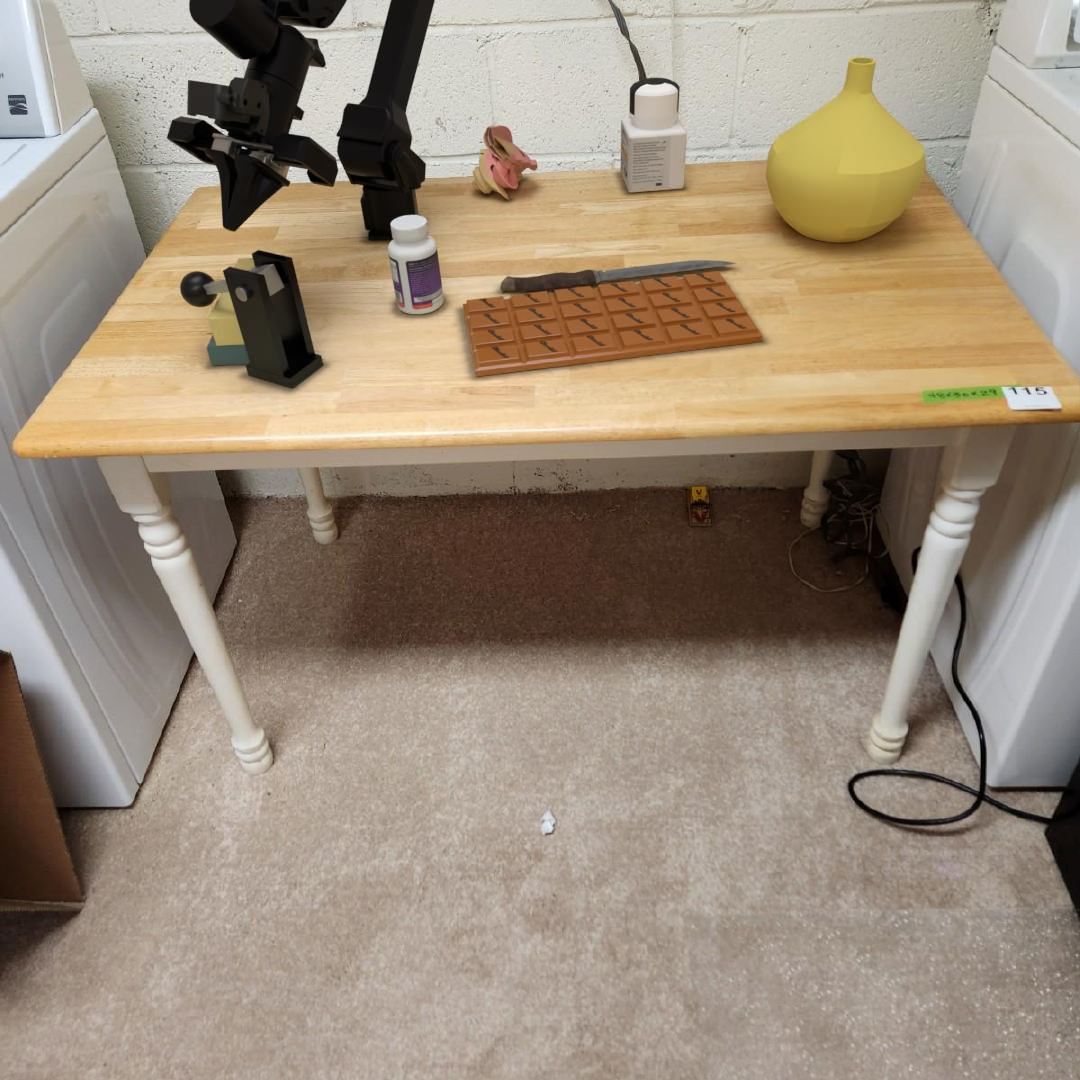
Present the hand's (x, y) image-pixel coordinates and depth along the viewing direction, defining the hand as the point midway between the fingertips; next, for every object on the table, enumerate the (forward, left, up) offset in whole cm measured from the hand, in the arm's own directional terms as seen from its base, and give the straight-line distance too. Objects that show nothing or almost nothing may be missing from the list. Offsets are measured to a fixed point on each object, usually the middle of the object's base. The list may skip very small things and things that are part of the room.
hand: (228, 229), depth 96 cm
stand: (-5, +10, -11) cm, 16 cm away
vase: (-69, -18, -11) cm, 73 cm away
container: (-48, -36, -11) cm, 61 cm away
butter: (0, +1, -9) cm, 9 cm away
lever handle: (-1, +8, -4) cm, 9 cm away
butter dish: (0, +1, -11) cm, 11 cm away
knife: (-41, -7, -11) cm, 44 cm away
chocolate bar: (-39, +4, -11) cm, 41 cm away
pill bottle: (-18, -3, -11) cm, 22 cm away
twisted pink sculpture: (-28, -36, -11) cm, 47 cm away
